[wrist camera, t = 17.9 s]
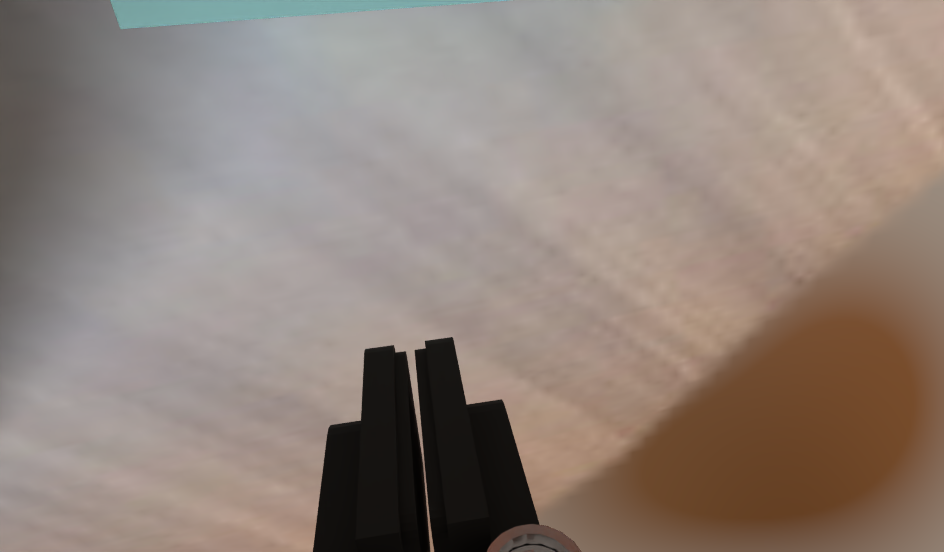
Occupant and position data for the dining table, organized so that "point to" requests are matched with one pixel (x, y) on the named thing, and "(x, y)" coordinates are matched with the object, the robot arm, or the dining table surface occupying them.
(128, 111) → the dining table surface
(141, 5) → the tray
